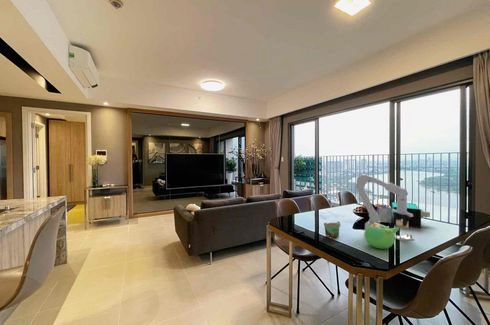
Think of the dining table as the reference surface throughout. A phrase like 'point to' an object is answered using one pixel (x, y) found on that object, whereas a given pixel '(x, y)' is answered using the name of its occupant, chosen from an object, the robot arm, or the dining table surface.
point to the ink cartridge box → (384, 213)
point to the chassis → (404, 237)
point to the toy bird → (380, 235)
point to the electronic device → (416, 212)
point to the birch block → (400, 224)
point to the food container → (332, 229)
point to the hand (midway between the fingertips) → (401, 224)
